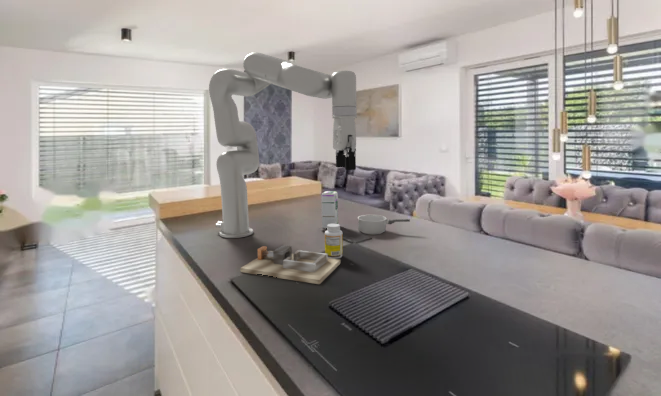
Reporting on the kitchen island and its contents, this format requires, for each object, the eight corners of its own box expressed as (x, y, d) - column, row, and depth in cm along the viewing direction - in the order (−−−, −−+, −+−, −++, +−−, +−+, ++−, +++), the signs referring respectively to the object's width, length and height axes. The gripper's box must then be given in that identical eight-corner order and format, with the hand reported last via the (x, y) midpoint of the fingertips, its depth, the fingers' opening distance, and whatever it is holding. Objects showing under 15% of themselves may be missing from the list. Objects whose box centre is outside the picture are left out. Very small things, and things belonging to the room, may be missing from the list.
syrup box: (335, 229, 147) (335, 193, 144) (321, 228, 148) (321, 193, 146) (338, 225, 153) (338, 191, 150) (324, 224, 154) (324, 190, 151)
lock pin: (257, 259, 109) (257, 249, 109) (263, 256, 112) (263, 245, 112) (281, 262, 106) (281, 252, 106) (286, 259, 109) (286, 248, 109)
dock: (240, 271, 103) (239, 254, 102) (269, 254, 118) (269, 239, 117) (319, 284, 95) (319, 265, 94) (340, 263, 109) (340, 247, 108)
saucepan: (409, 238, 135) (409, 223, 134) (355, 235, 139) (355, 220, 138) (409, 229, 146) (409, 216, 145) (359, 227, 150) (359, 213, 149)
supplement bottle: (332, 252, 119) (332, 221, 117) (346, 256, 116) (346, 224, 114) (321, 257, 115) (320, 225, 113) (334, 261, 111) (334, 228, 110)
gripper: (325, 115, 121) (327, 166, 124) (341, 111, 104) (342, 171, 107) (347, 114, 123) (348, 165, 126) (365, 111, 106) (366, 170, 109)
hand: (345, 168), depth 117 cm, fingers open, 9 cm apart
